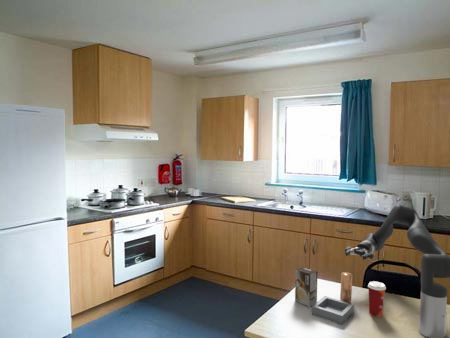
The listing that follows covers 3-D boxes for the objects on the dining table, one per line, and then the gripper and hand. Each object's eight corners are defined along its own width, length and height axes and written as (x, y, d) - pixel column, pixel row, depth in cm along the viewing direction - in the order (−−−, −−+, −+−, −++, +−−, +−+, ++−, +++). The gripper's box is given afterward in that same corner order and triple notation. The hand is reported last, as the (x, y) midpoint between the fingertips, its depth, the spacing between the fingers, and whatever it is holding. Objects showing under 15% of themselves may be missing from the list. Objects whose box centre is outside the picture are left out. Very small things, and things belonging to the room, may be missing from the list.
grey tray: (353, 312, 164) (353, 304, 164) (342, 324, 153) (342, 315, 153) (324, 304, 173) (324, 296, 172) (311, 314, 162) (312, 306, 161)
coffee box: (317, 303, 173) (318, 271, 172) (309, 307, 169) (310, 274, 168) (302, 297, 180) (302, 266, 179) (294, 300, 176) (295, 269, 175)
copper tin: (352, 301, 176) (353, 274, 175) (349, 305, 172) (350, 277, 170) (342, 298, 179) (343, 271, 178) (338, 302, 175) (339, 274, 174)
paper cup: (386, 318, 159) (388, 288, 158) (368, 316, 160) (369, 286, 159) (382, 310, 167) (383, 281, 165) (365, 308, 168) (366, 280, 167)
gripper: (352, 239, 199) (341, 246, 186) (379, 244, 190) (369, 251, 178) (352, 252, 200) (341, 259, 187) (378, 258, 191) (369, 266, 178)
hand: (355, 255), depth 182 cm, fingers open, 8 cm apart
